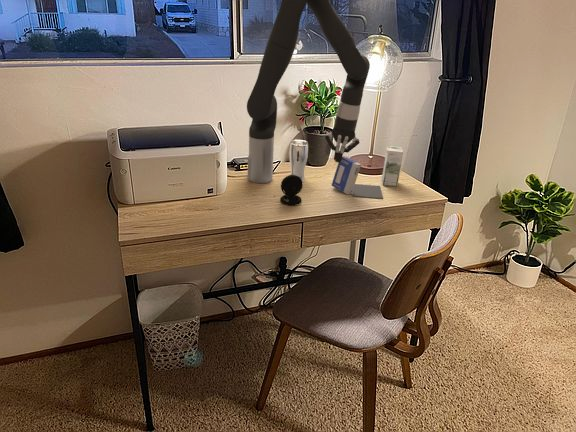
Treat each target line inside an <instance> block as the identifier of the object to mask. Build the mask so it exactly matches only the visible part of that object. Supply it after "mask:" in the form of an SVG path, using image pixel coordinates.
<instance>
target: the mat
mask: <svg viewBox="0 0 576 432" xmlns="http://www.w3.org/2000/svg"><path fill="white" fill-rule="evenodd" d="M351 196H352V198H353V197H354V198H365V199H366V198H367V199H378V200H381V199H382V200H383V199H384V196H383V192H382V188H381V185H374V184H373V185H372V184H358V183H355V185H354V188H353V191H352V195H351Z"/></svg>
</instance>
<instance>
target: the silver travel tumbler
mask: <svg viewBox="0 0 576 432" xmlns="http://www.w3.org/2000/svg"><path fill="white" fill-rule="evenodd" d="M308 155H309V143H308V141H306V140H303V139H294V140H290V146H289V165H290V173H289V175H296V176H298V177H300V178H301V180H302V183H304V182H305V180H306V179H305V178H306V177H305V169H306V166H307V161H308V158H309V157H308Z"/></svg>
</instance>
